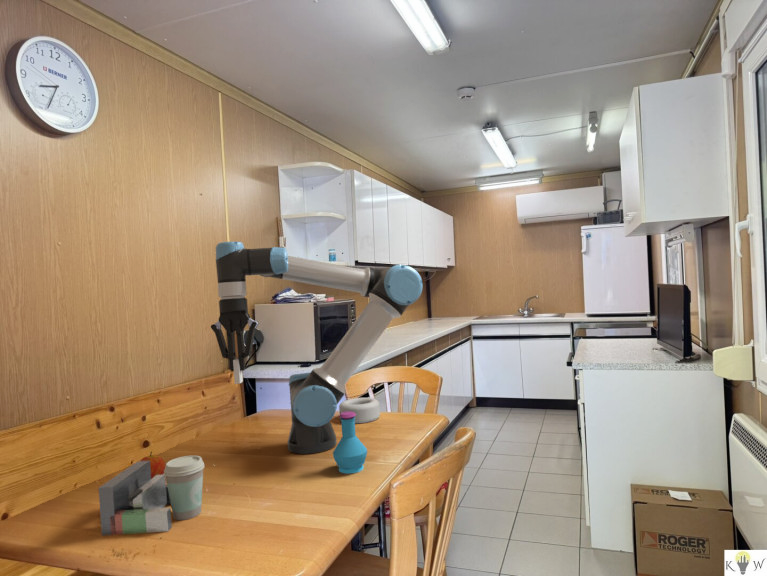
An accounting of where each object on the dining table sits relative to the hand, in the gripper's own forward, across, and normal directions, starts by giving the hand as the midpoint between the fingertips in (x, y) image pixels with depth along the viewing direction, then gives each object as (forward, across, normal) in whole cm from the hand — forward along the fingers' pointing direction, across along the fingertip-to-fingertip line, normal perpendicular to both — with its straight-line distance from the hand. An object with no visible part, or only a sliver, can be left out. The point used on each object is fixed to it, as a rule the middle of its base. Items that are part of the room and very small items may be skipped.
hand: (238, 382), depth 138 cm
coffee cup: (+25, +5, +26) cm, 36 cm away
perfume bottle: (+25, -30, +4) cm, 39 cm away
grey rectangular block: (+24, +17, +27) cm, 40 cm away
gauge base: (+24, +13, +26) cm, 38 cm away
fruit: (+25, +24, +4) cm, 35 cm away
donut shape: (+25, -29, -48) cm, 61 cm away
